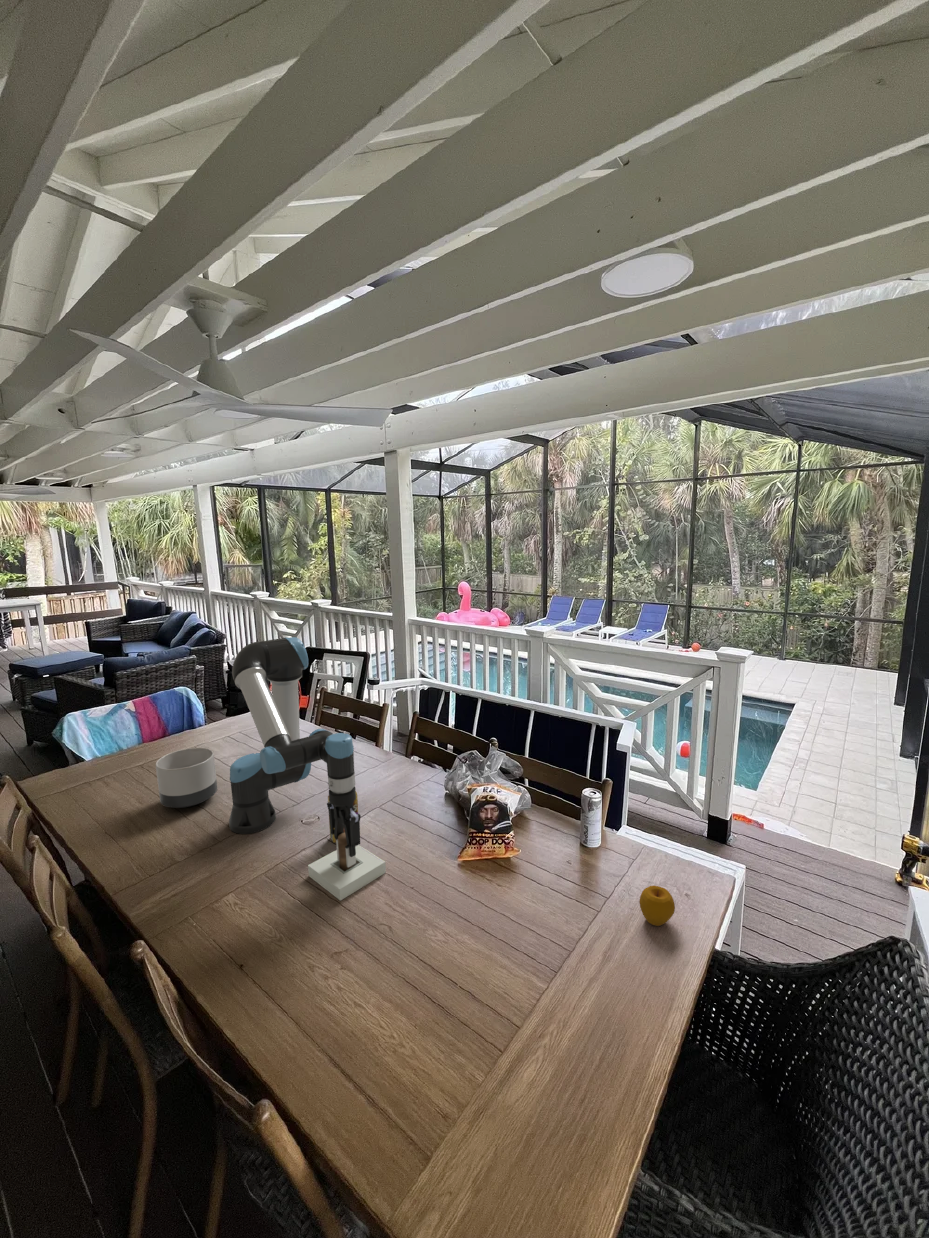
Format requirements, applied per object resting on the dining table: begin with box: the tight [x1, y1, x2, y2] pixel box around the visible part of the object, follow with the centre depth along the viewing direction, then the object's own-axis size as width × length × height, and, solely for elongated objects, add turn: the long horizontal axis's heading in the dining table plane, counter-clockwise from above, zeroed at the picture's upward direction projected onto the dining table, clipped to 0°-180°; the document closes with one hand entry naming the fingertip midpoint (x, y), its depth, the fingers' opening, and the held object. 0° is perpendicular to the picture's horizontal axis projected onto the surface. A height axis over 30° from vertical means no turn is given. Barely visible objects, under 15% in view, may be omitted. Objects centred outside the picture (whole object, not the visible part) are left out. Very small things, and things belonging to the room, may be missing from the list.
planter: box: [155, 747, 218, 809], centre depth 199 cm, size 19×19×18 cm
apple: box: [639, 885, 676, 927], centre depth 135 cm, size 8×8×9 cm
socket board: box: [307, 844, 387, 901], centre depth 156 cm, size 16×16×4 cm
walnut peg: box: [338, 833, 354, 872], centre depth 156 cm, size 4×4×12 cm
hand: (346, 861), depth 156 cm, fingers closed on walnut peg, 4 cm apart
